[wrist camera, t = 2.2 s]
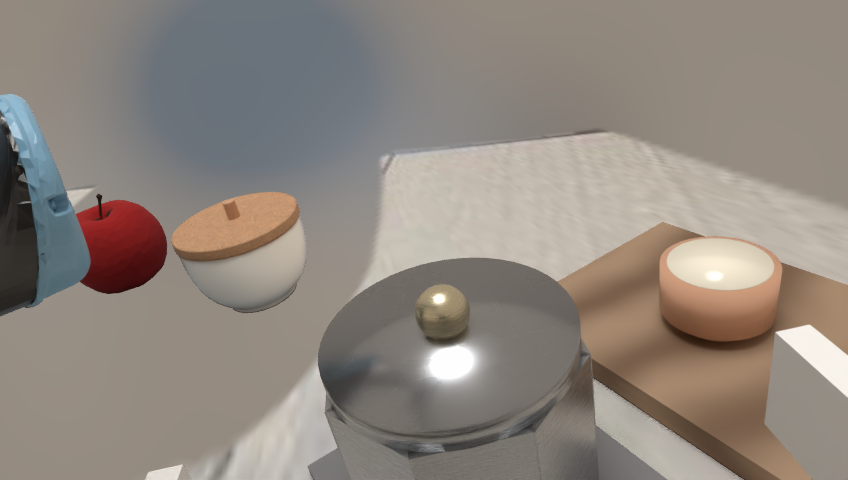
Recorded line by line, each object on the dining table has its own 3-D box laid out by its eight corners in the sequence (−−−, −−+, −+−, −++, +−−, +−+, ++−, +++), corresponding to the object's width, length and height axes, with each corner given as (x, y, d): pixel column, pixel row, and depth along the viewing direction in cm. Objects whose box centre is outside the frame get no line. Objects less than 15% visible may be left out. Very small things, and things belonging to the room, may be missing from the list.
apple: (157, 251, 64) (118, 170, 59) (194, 269, 58) (154, 181, 54) (74, 293, 59) (24, 208, 54) (106, 318, 53) (53, 225, 48)
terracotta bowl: (637, 318, 36) (636, 265, 34) (700, 277, 39) (703, 225, 37) (731, 367, 31) (737, 308, 29) (797, 316, 34) (806, 258, 32)
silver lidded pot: (373, 616, 24) (290, 418, 19) (369, 420, 34) (314, 253, 29) (631, 560, 24) (626, 344, 19) (551, 380, 34) (532, 205, 29)
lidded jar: (252, 259, 58) (220, 176, 53) (341, 263, 53) (314, 173, 49) (179, 324, 49) (133, 231, 45) (278, 335, 45) (238, 233, 40)
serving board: (514, 324, 40) (512, 307, 40) (662, 237, 47) (662, 222, 46) (809, 523, 25) (814, 501, 24) (973, 352, 31) (981, 330, 30)
